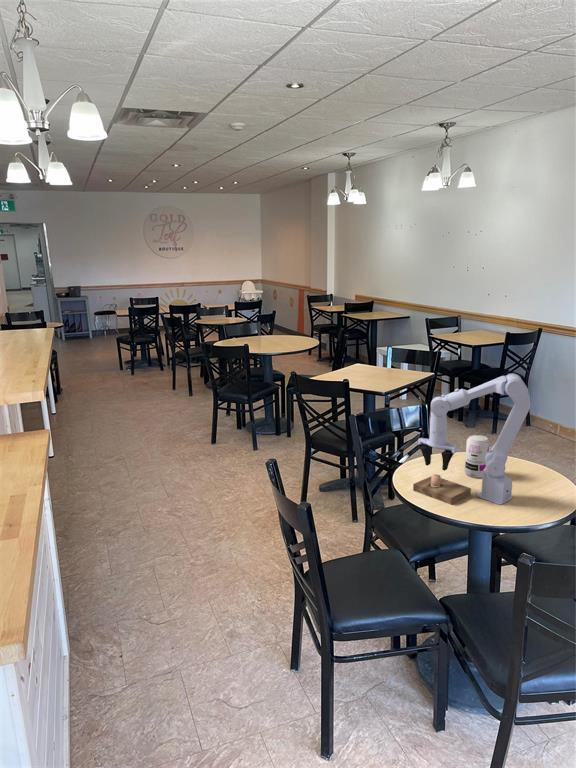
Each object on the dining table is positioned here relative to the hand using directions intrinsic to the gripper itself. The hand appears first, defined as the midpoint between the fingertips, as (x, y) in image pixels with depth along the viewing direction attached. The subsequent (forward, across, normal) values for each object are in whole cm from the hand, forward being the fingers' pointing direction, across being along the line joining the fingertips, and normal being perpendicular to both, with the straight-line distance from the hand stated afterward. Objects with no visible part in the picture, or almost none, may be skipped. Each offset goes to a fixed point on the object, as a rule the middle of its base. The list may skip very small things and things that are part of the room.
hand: (436, 467), depth 197 cm
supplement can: (+10, -3, -25) cm, 27 cm away
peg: (+9, 0, 0) cm, 9 cm away
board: (+9, -2, -1) cm, 10 cm away
